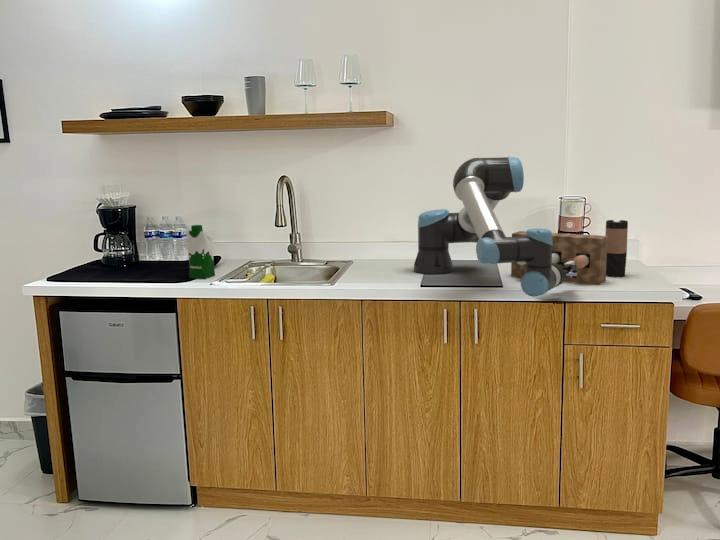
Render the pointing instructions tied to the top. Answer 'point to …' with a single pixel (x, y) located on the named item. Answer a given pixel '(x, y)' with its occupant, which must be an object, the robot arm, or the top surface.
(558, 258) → the sage button
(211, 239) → the milk carton
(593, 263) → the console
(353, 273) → the top surface
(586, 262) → the terracotta button
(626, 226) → the travel mug
